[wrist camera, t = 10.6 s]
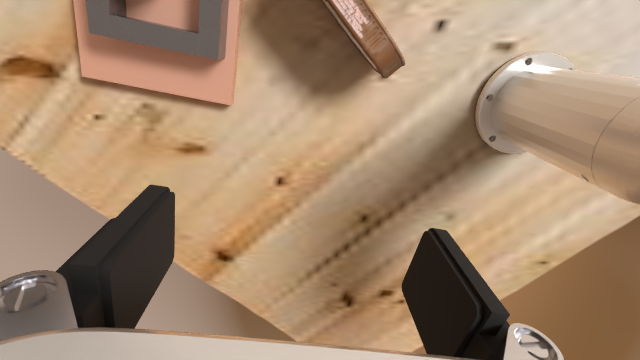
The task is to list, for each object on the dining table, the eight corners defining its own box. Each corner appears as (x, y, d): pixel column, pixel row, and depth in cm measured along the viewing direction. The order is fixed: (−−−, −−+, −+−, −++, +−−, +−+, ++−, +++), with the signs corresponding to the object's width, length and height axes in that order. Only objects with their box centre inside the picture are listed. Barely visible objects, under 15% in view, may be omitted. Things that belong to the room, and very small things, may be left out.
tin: (394, 59, 35) (419, 65, 28) (373, 78, 36) (392, 89, 29) (309, -63, 30) (312, -96, 22) (286, -38, 31) (281, -62, 23)
